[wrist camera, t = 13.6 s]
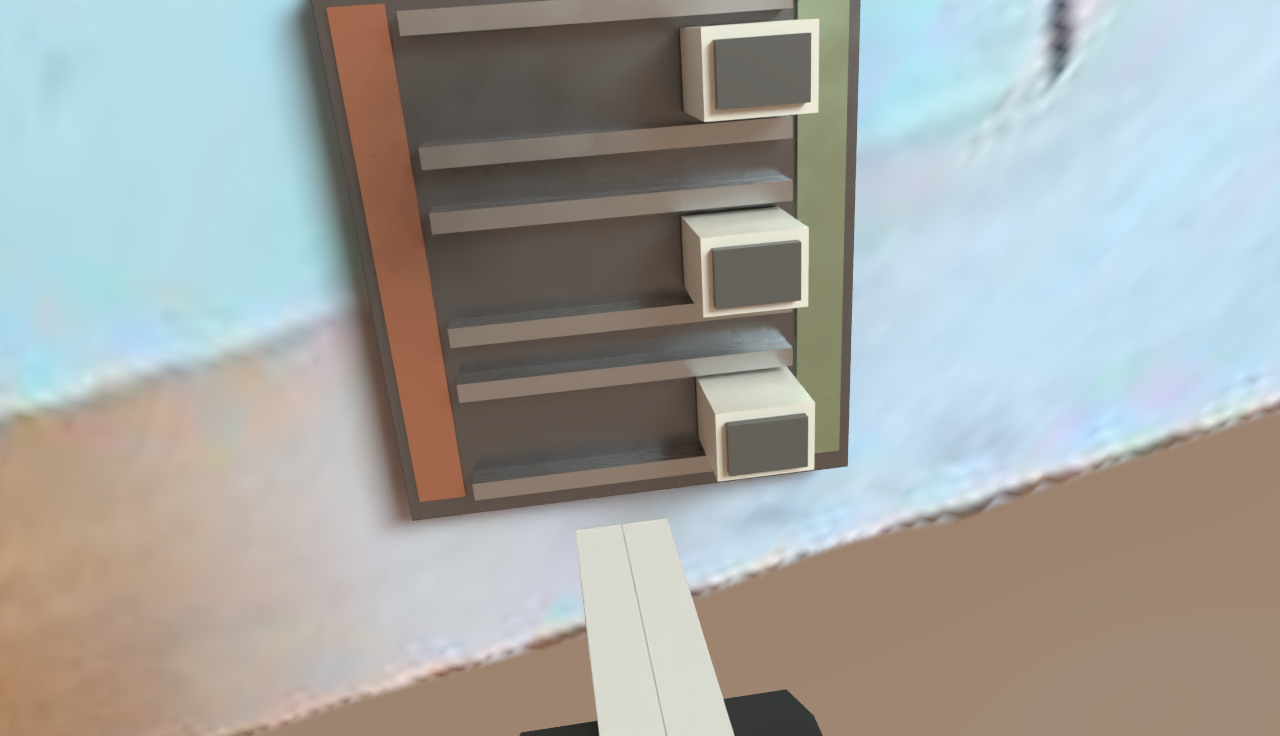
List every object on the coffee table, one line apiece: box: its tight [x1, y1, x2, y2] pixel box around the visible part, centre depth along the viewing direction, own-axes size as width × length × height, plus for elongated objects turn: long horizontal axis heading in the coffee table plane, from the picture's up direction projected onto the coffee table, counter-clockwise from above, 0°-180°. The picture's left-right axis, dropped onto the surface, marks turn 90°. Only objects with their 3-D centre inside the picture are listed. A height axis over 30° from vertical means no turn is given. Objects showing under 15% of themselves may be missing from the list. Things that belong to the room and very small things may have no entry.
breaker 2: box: [681, 207, 809, 318], centre depth 33 cm, size 4×3×4 cm
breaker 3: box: [696, 366, 815, 482], centre depth 36 cm, size 4×3×4 cm
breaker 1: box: [680, 19, 819, 122], centre depth 30 cm, size 4×3×4 cm
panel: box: [311, 0, 861, 521], centre depth 35 cm, size 20×22×3 cm
